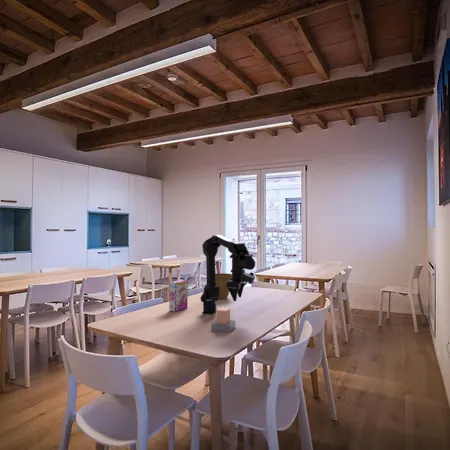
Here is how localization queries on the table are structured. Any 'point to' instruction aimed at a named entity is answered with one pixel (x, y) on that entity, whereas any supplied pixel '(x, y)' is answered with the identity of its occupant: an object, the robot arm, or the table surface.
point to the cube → (223, 315)
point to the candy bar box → (178, 295)
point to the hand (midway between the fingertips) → (237, 299)
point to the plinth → (223, 326)
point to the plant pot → (223, 284)
